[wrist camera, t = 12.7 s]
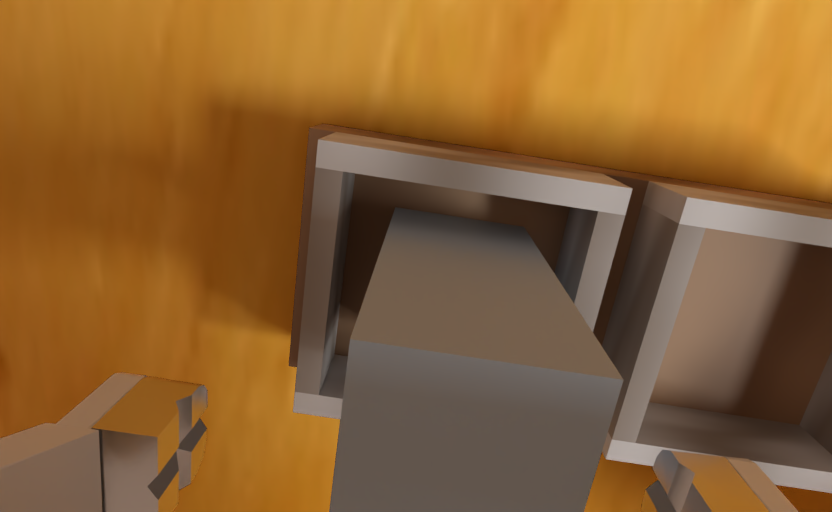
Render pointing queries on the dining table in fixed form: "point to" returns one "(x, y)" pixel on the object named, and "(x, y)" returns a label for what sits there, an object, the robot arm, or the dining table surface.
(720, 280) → the two-compartment tray
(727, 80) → the dining table surface
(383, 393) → the gray rectangular block
